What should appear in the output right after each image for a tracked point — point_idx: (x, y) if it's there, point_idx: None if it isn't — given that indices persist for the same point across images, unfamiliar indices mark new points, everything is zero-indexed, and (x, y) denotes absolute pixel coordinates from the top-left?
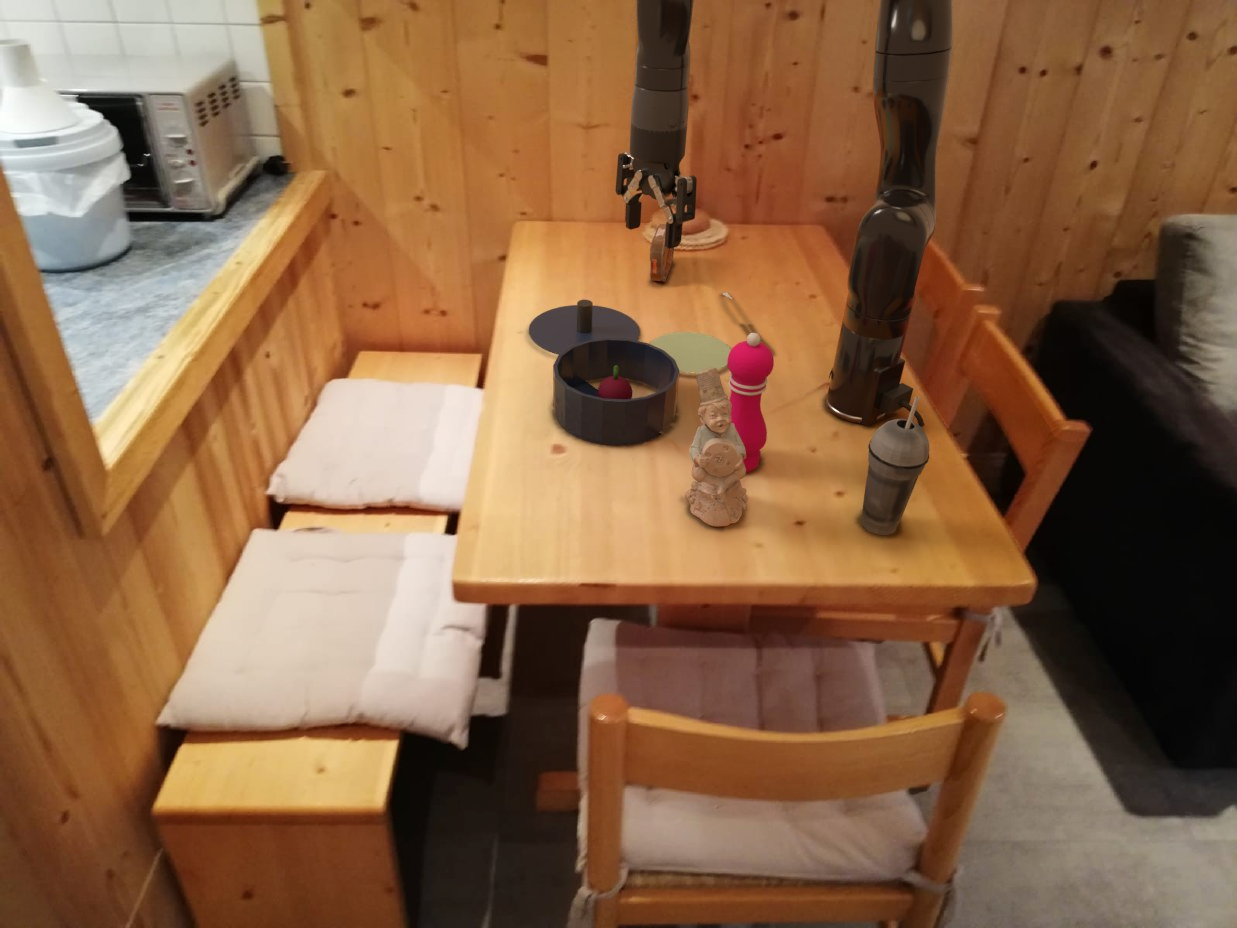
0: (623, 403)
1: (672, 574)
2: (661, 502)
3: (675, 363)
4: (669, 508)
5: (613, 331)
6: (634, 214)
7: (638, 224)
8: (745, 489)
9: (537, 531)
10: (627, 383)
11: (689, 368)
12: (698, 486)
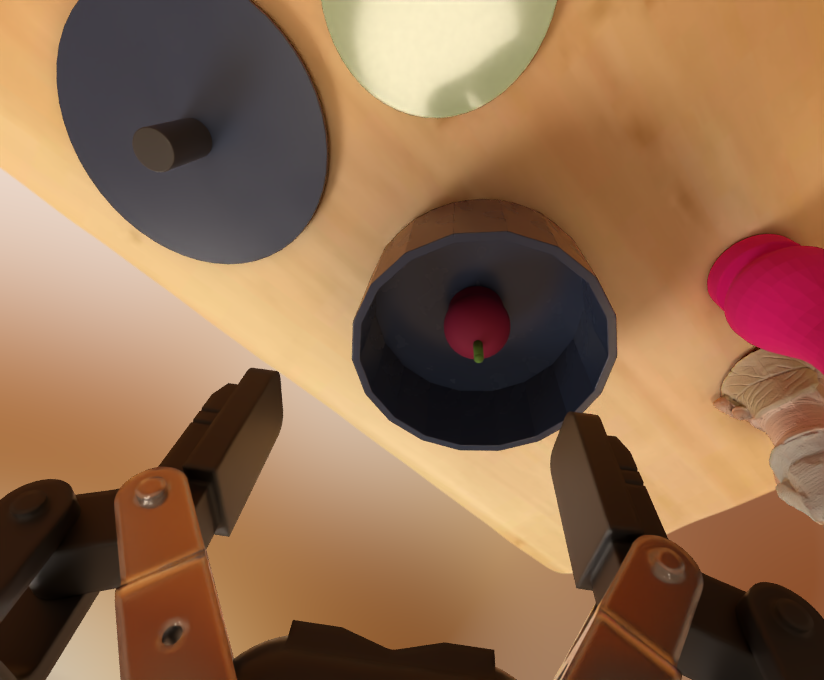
0: None
1: (755, 490)
2: (679, 418)
3: (570, 260)
4: (696, 420)
5: (235, 84)
6: (252, 457)
7: (272, 385)
8: None
9: None
10: (497, 326)
11: (494, 71)
12: (749, 417)
